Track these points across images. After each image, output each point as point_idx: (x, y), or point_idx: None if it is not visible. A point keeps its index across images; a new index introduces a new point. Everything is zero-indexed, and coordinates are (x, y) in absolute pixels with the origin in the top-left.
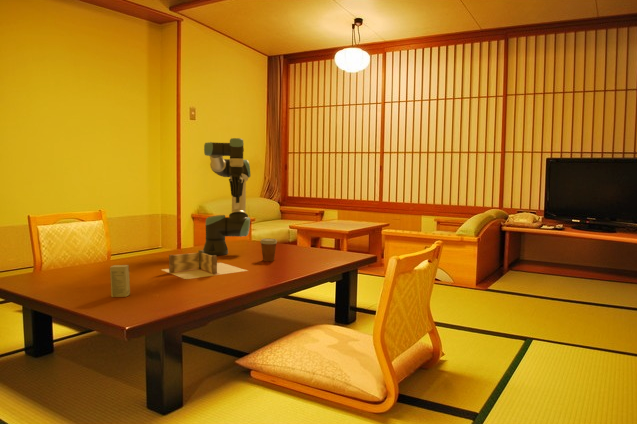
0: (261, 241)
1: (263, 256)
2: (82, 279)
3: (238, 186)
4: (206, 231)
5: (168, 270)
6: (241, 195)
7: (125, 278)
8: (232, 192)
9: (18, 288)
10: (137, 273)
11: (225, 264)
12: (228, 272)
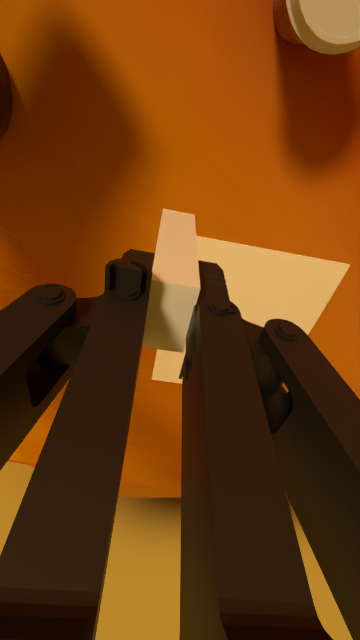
0: (316, 43)
1: (296, 43)
2: (133, 457)
3: (349, 589)
4: None
5: (172, 375)
6: (298, 335)
7: (285, 491)
8: (55, 390)
9: (134, 493)
10: (147, 409)
11: (220, 246)
12: (310, 314)
